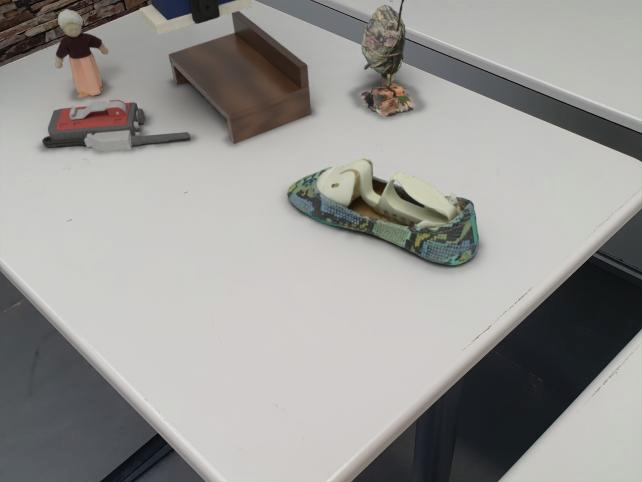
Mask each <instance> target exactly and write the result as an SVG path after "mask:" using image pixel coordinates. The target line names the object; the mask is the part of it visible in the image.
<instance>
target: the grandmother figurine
mask: <svg viewBox="0 0 642 482" xmlns="http://www.w3.org/2000/svg"><path fill="white" fill-rule="evenodd" d="M57 23H58V25H59V28H60V29H62V31H63V33H64V34H65V35H66V36H63V37H62V38H61V40H60V42H59V44H58V47H57V48H56V49H57V50H56V52H55V62H54V66H55V68H56V69H59V70H61V69H62V68H63V67H64V65H63V63H64V59H65V58H66V57H67V56H68V62H69V63H68V64H69V67H70V68H69V69H70V72H71V76H72V80H73V83H74V88H75V90H76V93H77V97H78V99H79V98H80V99H82V98H85V97H87V96H91V97H92V96H97V95H100V94H101V93H102V92H103V90H104V89H103V88H102V87H103V82H102V78H101V74H100V71H99V67H98V64H97V61H96V58H95V56H94V53H93V52H92V51H91V49H96V50H97V49H98V50H99V51H100V52H101V54H103V55H108V54H109V52H110V51H109V48H107V47H106V46H105V44H104V42H103V40H102V39H101V38H99V37H97V36H96V35H93V34H91V33H85V32H82V26H83V25H84V19H83V17H82V16H81V15H80V14H79V13H78V12H77V11H75V10H71V9H69V8H67V9H64V10H63V11H62V10H61V12H59V13H58V16H57Z"/></svg>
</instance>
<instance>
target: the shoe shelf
mask: <svg viewBox="0 0 642 482" xmlns="http://www.w3.org/2000/svg"><path fill="white" fill-rule="evenodd" d="M231 17H232V25H233V32H232V33H229V34H226V35H224V36H219V37H217V38H214V39H211V40H207V41H205V42H202V43H199V44H196V45H193V46H190V47H186V48H183V49H180V50H177V51H175V52H174V51H173V52H171V53H168V54H167V55H168V59H169V63H170V69H171V70H172V71H171V73H172V76H173V80H174V83H175V84H176V85H177V86H178V85H179V86H180V85H181V84H184V83H187V82H189V83H190V84H191V85H192V86H193V87H194V88H195V89H196V90H197V91H198V92H199V93H200V94H201V95H202V96H203V98H205V99H206V100H207V101H208V102H209V103H210V104H211V105H212V106H213V107H214V108H215V109H216V111H218V112H219V114H220V115H222V116H223V117H224V118H225V119H226V122H227V123H226V124H227V130H228V134H229V140H230V142H231V143H233V144H234V145H236V144H238V143H241V142H244V141H246V140H249V139H252V138H254V137H257V136H259V135H262V134H264V133H267V132H269V131H272V130H275V129H277V128H280V127H283V126H285V125H288V124H290V123H293V122H296V121H299V120H301V119H303V118H306V117H309V116H311V115H312V109H311V95H310V82H309V68H308V67H309V66H308V64H307V63H306V62H304V61H303V60H302V59H301V58H299V57H298V56H297V55H295V54H294V53H293V52H291V51H290V50H289V49H288V48H287V47H285V46H284V45H283V44H281V43H280V42H279V41H278V40H277V39H275V38H274V37H273V36H272V35H270V34H268V32H266V31H265V30H264V29H263V28H261V27H260V26H258V25H257V24H256V23H255V22H253V21H252V20H251V19H250V18H249V17H248V16H246V15H245V14H244V13H242V12H241V10H240V11H237V12H233V13H231Z"/></svg>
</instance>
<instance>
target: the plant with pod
mask: <svg viewBox="0 0 642 482" xmlns="http://www.w3.org/2000/svg"><path fill="white" fill-rule="evenodd" d="M389 2H390V3H393V2H394V1H393V0H389ZM404 2H405V0H401V3H400V6H399V9H398V10H399V11H398V12H397V11H396V10H395V9H394V8H392V6H390V5H389V4H388V5H387V4H383V5H381V6H380V7H377V8H376V10H374V12H373V13H372V15H371V17H370V19H369V20H368V22H367V24H366V26H365V27H364V30H363V31H364V32H363V35H362V40H361V54H362V56H363V57H364V59H365V60H366V62H367V63H366V64H365V65H364V66H363V70H364V71H367V70H368V69H373V71H375V72H376V73H377V74H380V81H381V82H380V83H381V86H379V85H376V86H374V87H372V88H371V90H370V91H367V90H366V91H363V92H362V93H361V95H360V99H362V100H363V101H365V103H362V106H365V107H366V108H367V109H368V108H370V110H371V111H374V112H376V113H377V114H378V115H379V116H381V117H382V116H383V117H386V118H389V116H392V115H393V114H397V113H400V112H401V113H403V112H405V113H407V112H410V111H414V107H413V106H414V105H413V104H414V103H413V101H412V98H411V94H410V93H406V90H407V88H406V87H405V88H404V87H402V86H400V85H399V84H397V83H395V82H394V79H395V77H396V75H397V73H398V72H399V70H400V68H401V67H402V64H403V63H402V62H403V60H404V58H405V57H404V51H405V50H404V49H405V45H406V33H407V30H406V25H405V23H404V21H403V18H402V14H403V13H402V12H403V5H404Z"/></svg>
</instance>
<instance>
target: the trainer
mask: <svg viewBox="0 0 642 482" xmlns="http://www.w3.org/2000/svg"><path fill="white" fill-rule="evenodd" d="M150 2H151V4H149V5H147V6H143V7H140V8H139V12H140V16H141V19H142V20H143V21H144V22H145V23H146V25H148V26H149V28H151V29H152V30H153V32H154V33H155V34H156V35H157V36H160V35H164V34H166V33H170V32H174V31H176V30H179V29H183V28H187V27H190V26H193V25H197V24H196V23H195V22H194V21H193V18H192V13H191V8H190V3H189V0H150ZM218 5H219V12H220V16H219V17H218V18H221V17H223V16H226V15H230V14H232V13H233V12H237V11H240V12H241V11H243V10H247V9H250V8H252V7H253V6H252V0H218Z"/></svg>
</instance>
